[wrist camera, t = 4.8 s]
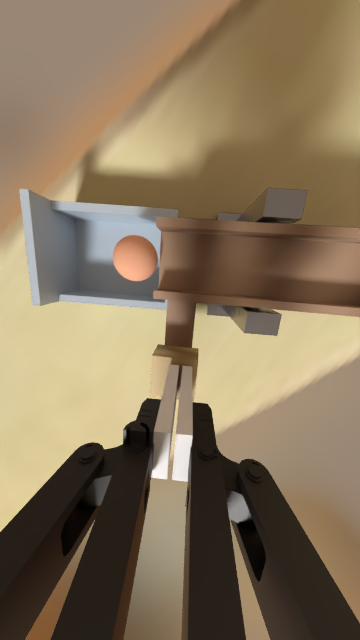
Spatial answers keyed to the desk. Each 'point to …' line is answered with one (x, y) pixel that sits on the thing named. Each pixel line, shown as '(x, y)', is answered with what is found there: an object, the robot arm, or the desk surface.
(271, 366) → the desk surface
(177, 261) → the lever
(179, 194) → the desk surface
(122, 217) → the bin
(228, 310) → the fulcrum
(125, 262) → the ball
